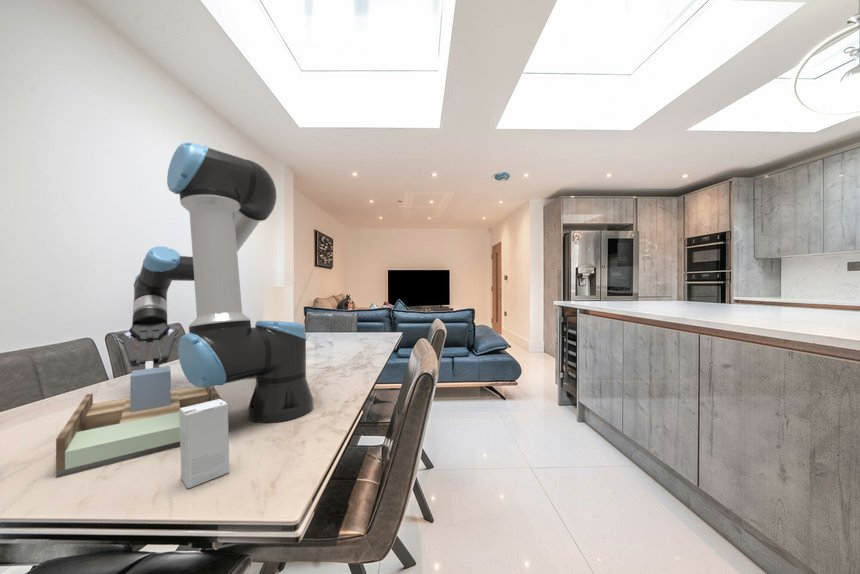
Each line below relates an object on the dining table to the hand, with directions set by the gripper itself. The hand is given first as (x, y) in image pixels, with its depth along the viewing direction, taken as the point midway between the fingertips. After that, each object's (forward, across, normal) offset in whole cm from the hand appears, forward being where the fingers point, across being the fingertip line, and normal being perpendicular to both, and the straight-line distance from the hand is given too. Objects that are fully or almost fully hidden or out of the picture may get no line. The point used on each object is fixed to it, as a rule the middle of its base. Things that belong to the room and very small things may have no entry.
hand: (149, 385), depth 80 cm
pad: (+19, -1, +9) cm, 21 cm away
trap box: (+12, -1, +2) cm, 12 cm away
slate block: (+6, 0, +1) cm, 6 cm away
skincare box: (+34, -8, +23) cm, 42 cm away
